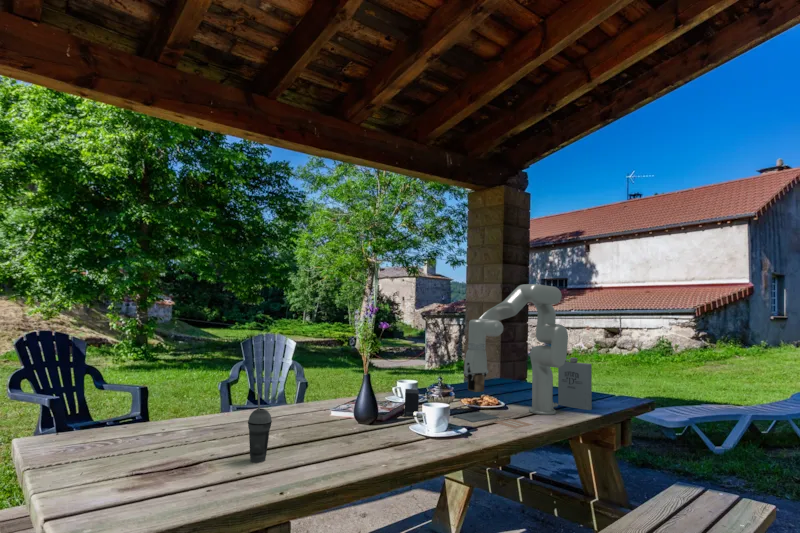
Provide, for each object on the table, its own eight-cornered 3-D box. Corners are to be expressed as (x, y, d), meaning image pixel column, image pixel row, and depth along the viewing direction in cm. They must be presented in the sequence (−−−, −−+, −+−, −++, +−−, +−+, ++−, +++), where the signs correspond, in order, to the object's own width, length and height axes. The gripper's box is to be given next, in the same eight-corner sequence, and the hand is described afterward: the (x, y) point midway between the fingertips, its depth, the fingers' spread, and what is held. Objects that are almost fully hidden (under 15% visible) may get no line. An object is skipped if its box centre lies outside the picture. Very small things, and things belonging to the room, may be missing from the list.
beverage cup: (256, 465, 144) (260, 397, 146) (240, 461, 148) (244, 394, 150) (275, 459, 151) (278, 394, 152) (258, 455, 154) (262, 391, 156)
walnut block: (475, 389, 217) (476, 373, 218) (484, 391, 213) (484, 375, 214) (467, 390, 214) (468, 374, 215) (475, 392, 210) (476, 375, 211)
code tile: (511, 421, 212) (511, 418, 212) (534, 427, 202) (534, 424, 202) (492, 424, 205) (492, 422, 205) (515, 430, 195) (515, 428, 195)
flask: (556, 404, 253) (556, 356, 255) (560, 403, 256) (560, 355, 258) (588, 410, 240) (588, 359, 242) (592, 409, 243) (592, 358, 245)
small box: (418, 417, 215) (419, 392, 216) (404, 416, 215) (404, 392, 216) (418, 411, 226) (418, 389, 227) (404, 411, 226) (404, 388, 227)
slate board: (478, 415, 222) (478, 411, 222) (498, 420, 213) (498, 416, 213) (453, 419, 213) (453, 415, 213) (472, 424, 203) (472, 421, 203)
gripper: (483, 346, 223) (483, 386, 222) (456, 347, 213) (455, 389, 212) (496, 347, 217) (495, 389, 216) (469, 348, 207) (468, 391, 206)
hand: (475, 388), depth 214 cm, fingers closed on walnut block, 5 cm apart
